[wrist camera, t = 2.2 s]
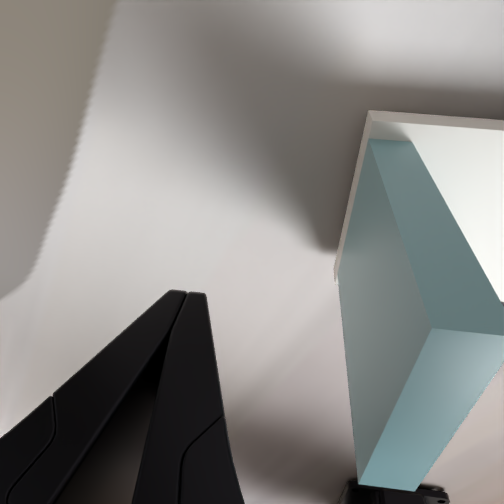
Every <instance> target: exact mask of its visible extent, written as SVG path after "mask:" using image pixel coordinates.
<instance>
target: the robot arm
mask: <svg viewBox="0 0 504 504" xmlns="http://www.w3.org/2000/svg"><path fill="white" fill-rule="evenodd" d="M449 502H450V500H449V496H448V494H447V493H445V492H441V491H433V490H425V489H416V490H415V491H407V490H400V489H392V488H384V487H377V486H369V485H361V484H358V481H354V480H353V481H349V482H348V483H347V485H346V487H345V489H344V492H343V494H342V496H341V499H340V501H339V503H338V504H449ZM0 504H245V503H244V499H243V496H242V493H241V489H240V485H239V482H238V478H237V474H236V470H235V467H234V463H233V458H232V453H231V448H230V443H229V437H228V431H227V425H226V419H225V413H224V407H223V400H222V394H221V387H220V381H219V374H218V368H217V361H216V355H215V348H214V342H213V335H212V329H211V323H210V316H209V310H208V303H207V297H206V294H205V293H200V292H189V293H187V292H186V291H181V290H169V291H168V292H167V293H165V294H164V295H163V296H162V297H161V298H160V299H159V300H158V301H156V302H155V303H154V304H153V305H152V306H151V307H150V308H149V309H147V310H146V311H145V312H144V313H143V314H142V315H141V316H140V317H138V318H137V319H136V320H135V321H134V322H133V323H132V324H131V325H129V326H128V327H127V328H126V329H125V330H124V331H123V332H122V333H120V334H119V335H118V336H117V337H116V338H115V339H114V340H113V341H111V342H110V343H109V344H108V345H107V346H106V347H105V348H104V349H102V350H101V351H100V352H99V353H98V354H97V355H96V356H95V357H93V358H92V359H91V360H90V361H89V362H88V363H87V364H86V365H84V366H83V367H82V368H81V369H80V370H79V371H78V372H77V373H75V374H74V375H73V376H72V377H71V378H70V379H69V380H68V381H66V382H65V383H64V384H63V385H62V386H61V387H60V388H59V389H57V390H56V391H55V392H54V393H53V396H49V397H48V398H47V399H46V400H45V401H44V402H43V403H41V404H40V405H39V406H38V407H37V408H36V409H35V410H34V411H32V412H31V413H30V414H29V415H28V416H26V417H25V418H24V419H23V420H22V421H21V422H19V423H18V424H17V425H16V426H15V427H13V428H12V429H11V430H10V431H9V432H7V433H6V434H5V435H4V436H2V437H1V438H0Z"/></svg>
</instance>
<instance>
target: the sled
mask: <svg viewBox="0 0 504 504" xmlns="http://www.w3.org/2000/svg"><path fill="white" fill-rule="evenodd" d="M334 279H335V285H338V286H339V296H340V306H341V316H342V326H343V336H344V346H345V356H346V366H347V376H348V386H349V396H350V406H351V416H352V426H353V436H354V446H355V456H356V466H357V476H358V484H361V485H369V486H377V487H384V488H392V489H400V490H407V491H415V490H416V489H417V487H418V486H419V485H420V483H421V482H422V480H423V479H424V477H425V476H426V474H427V473H428V472H429V470H430V469H431V467H432V466H433V464H434V463H435V461H436V460H437V458H438V457H439V456H440V454H441V453H442V451H443V450H444V448H445V447H446V445H447V444H448V443H449V441H450V440H451V438H452V437H453V435H454V434H455V432H456V431H457V429H458V428H459V427H460V425H461V424H462V422H463V421H464V419H465V418H466V416H467V415H468V414H469V412H470V411H471V409H472V408H473V406H474V405H475V403H476V402H477V400H478V399H479V398H480V396H481V395H482V393H483V392H484V390H485V389H486V387H487V386H488V385H489V383H490V382H491V380H492V379H493V377H494V376H495V374H496V373H497V372H498V370H499V369H500V367H501V366H502V364H503V363H504V306H503V305H502V303H501V302H504V120H495V119H482V118H469V117H456V116H442V115H429V114H416V113H403V112H390V111H376V110H368V113H367V118H366V123H365V127H364V132H363V136H362V141H361V145H360V150H359V155H358V159H357V164H356V168H355V173H354V177H353V182H352V187H351V191H350V196H349V200H348V205H347V210H346V214H345V219H344V223H343V228H342V232H341V237H340V242H339V246H338V251H337V255H336V260H335V265H334Z"/></svg>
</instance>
